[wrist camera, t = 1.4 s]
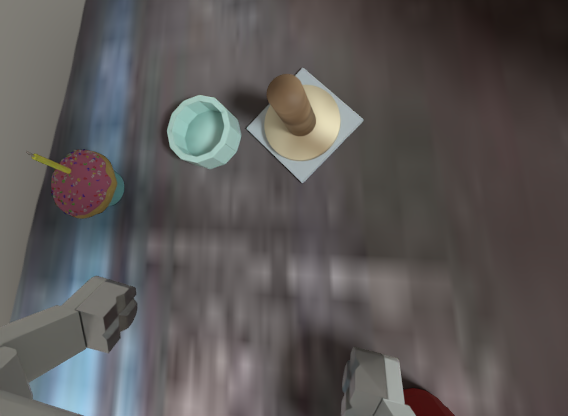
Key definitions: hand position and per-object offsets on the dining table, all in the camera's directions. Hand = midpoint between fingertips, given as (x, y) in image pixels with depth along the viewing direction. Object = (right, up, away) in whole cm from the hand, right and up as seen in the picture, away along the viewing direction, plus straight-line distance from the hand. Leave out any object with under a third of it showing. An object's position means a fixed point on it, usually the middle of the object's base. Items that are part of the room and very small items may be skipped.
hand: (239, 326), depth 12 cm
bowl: (-8, +13, +31) cm, 35 cm away
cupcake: (-22, +7, +34) cm, 41 cm away
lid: (+4, +14, +28) cm, 31 cm away
